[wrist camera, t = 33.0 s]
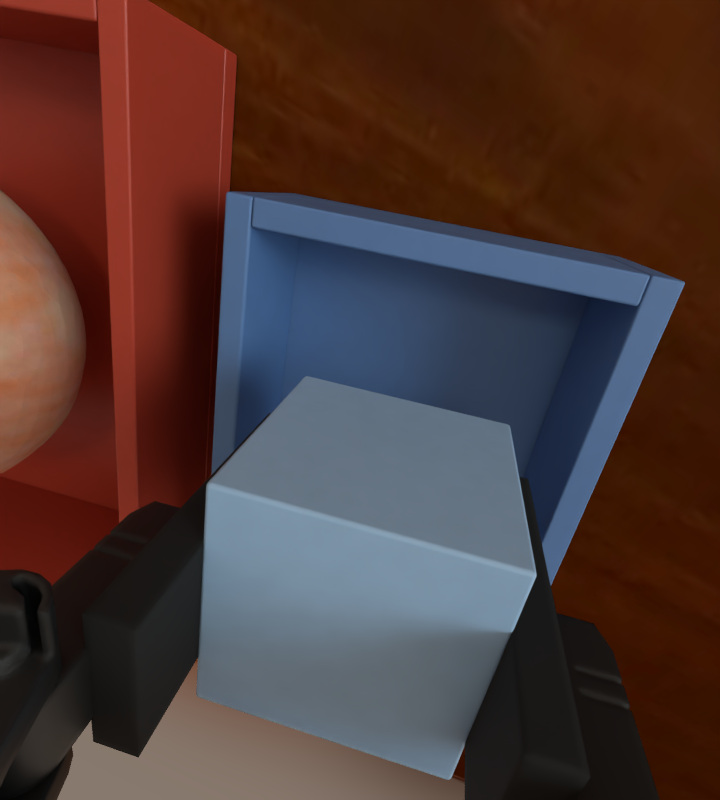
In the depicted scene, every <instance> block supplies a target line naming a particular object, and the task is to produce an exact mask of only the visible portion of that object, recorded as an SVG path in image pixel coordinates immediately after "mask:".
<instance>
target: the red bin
mask: <svg viewBox="0 0 720 800" xmlns="http://www.w3.org/2000/svg"><path fill="white" fill-rule="evenodd" d="M236 66H237V55H236V54H234V53H233V52H231V51H229V50H228V49H226V48H224V47H223V46H221V45H220V44H218V43H217V42H215V41H213V40H212V39H210V38H208V37H207V36H205V35H204V34H202V33H200V32H199V31H197V30H195V29H194V28H192V27H191V26H189V25H187V24H186V23H184V22H183V21H181V20H179V19H178V18H176V17H174V16H173V15H171V14H170V13H168V12H166V11H165V10H163V9H161V8H160V7H158V6H157V5H155V4H153V3H152V2H150V1H149V0H0V190H1V191H2V192H4V193H5V194H6V195H7V196H8V197H10V198H11V199H12V200H13V201H14V202H15V203H16V204H17V205H18V206H19V207H20V208H21V209H22V210H23V211H24V212H25V213H26V214H27V215H28V216H29V217H30V218H31V219H32V220H33V221H34V223H35V224H36V225H37V226H38V228H39V229H40V230H41V231H42V233H43V234H44V235H45V237H46V238H47V239H48V241H49V242H50V243H51V245H52V246H53V247H54V249H55V251H56V252H57V254H58V256H59V258H60V259H61V261H62V263H63V264H64V266H65V268H66V269H67V272H68V274H69V276H70V278H71V280H72V283H73V285H74V287H75V290H76V293H77V296H78V299H79V302H80V305H81V309H82V313H83V318H84V324H85V332H86V360H85V366H84V371H83V376H82V381H81V385H80V388H79V391H78V395H77V398H76V400H75V402H74V404H73V407H72V409H71V411H70V413H69V414H68V416H67V417H66V419H65V420H64V422H63V423H62V424H61V425H60V427H59V428H58V429H57V430H56V431H55V433H54V434H53V435H52V436H51V437H50V438H49V439H48V440H47V441H46V442H45V443H44V444H43V445H41V446H40V447H39V448H38V449H37V450H35V451H34V452H33V453H32V454H30V455H29V456H28V457H26V458H25V459H24V460H22V461H21V462H19V463H18V464H17V465H15V466H13V467H12V468H10V469H8V470H7V471H5V472H3V473H1V474H0V570H14V569H24V570H28V571H31V572H35V573H39V574H41V575H42V576H43V577H44V578H45V579H47V580H48V581H49V582H50V583H51V586H52V585H53V584H54V583H55V582H56V581H57V580H58V579H59V578H61V577H62V576H63V575H64V574H65V573H66V572H67V571H68V570H69V569H70V568H71V567H72V566H73V565H75V564H76V563H77V562H78V561H79V560H80V559H81V558H82V557H83V556H84V555H85V554H86V553H87V552H89V551H90V550H93V549H94V547H95V545H96V544H97V543H98V542H99V541H100V540H101V539H103V538H104V537H105V536H106V535H107V534H108V535H109V534H110V533H111V530H112V529H113V528H114V527H115V526H117V525H118V524H119V523H120V522H121V521H122V520H123V519H124V518H125V517H126V516H127V515H128V514H130V513H131V512H133V511H135V510H137V509H140V508H142V507H144V506H146V505H148V504H150V503H152V502H154V501H157V502H161V503H164V504H168V505H172V506H175V507H179V508H181V507H182V506H183V505H184V504H185V503H186V502H187V501H188V500H189V498H190V497H191V496H192V495H193V494H194V493H195V492H196V491H197V490H198V489H199V488H200V487H201V486H202V484H203V483H204V482H205V481H206V480H207V479H208V478H209V477H210V476H211V472H212V452H213V433H214V414H215V395H216V376H217V357H218V337H219V318H220V299H221V280H222V261H223V241H224V222H225V203H226V193H227V192H230V176H231V157H232V139H233V121H234V103H235V85H236Z"/></svg>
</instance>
